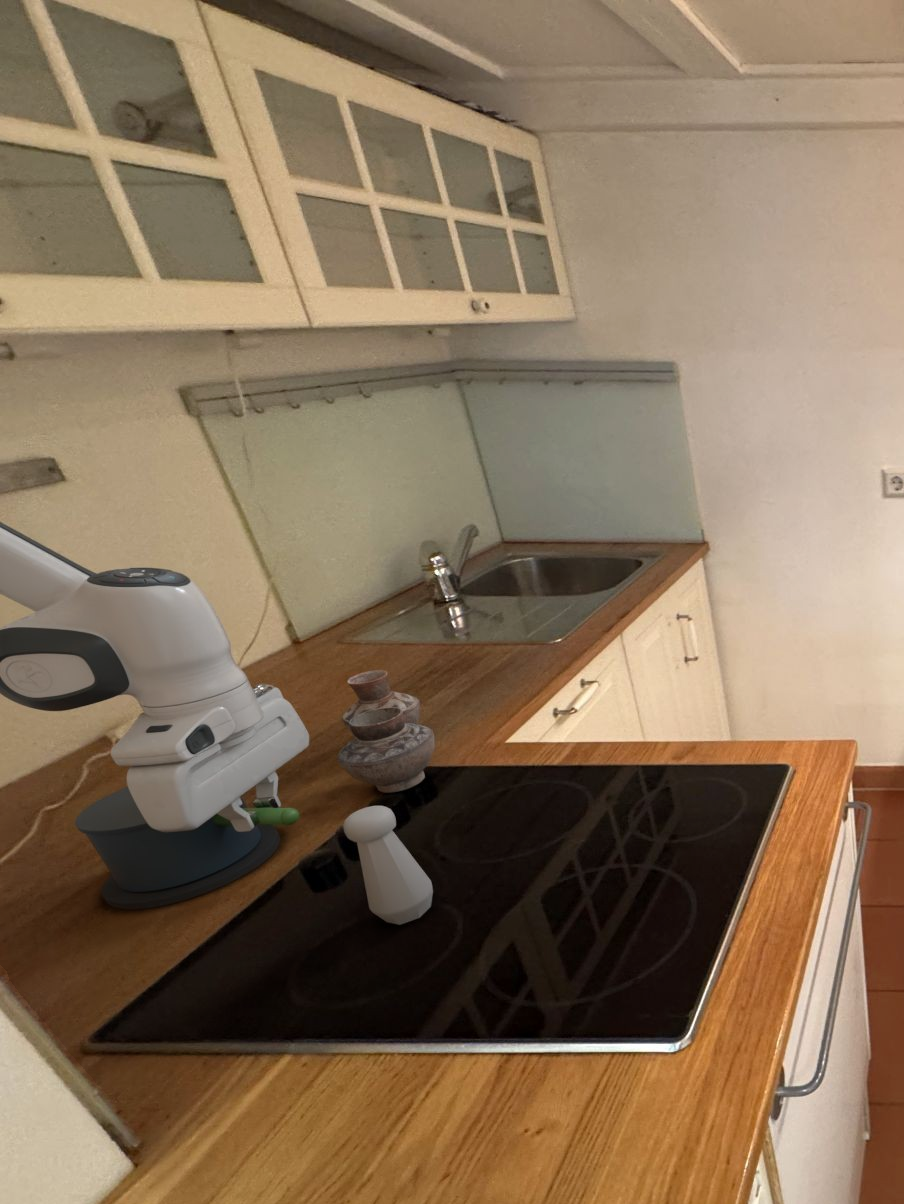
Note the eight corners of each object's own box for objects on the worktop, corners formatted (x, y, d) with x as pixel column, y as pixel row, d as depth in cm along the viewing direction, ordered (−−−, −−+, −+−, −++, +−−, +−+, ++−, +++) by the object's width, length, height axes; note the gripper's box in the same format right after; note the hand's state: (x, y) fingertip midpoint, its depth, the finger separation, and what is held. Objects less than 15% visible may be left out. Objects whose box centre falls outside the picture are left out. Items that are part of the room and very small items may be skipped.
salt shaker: (441, 915, 84) (399, 816, 78) (378, 938, 81) (330, 836, 75) (437, 888, 88) (397, 792, 82) (377, 908, 85) (331, 810, 79)
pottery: (432, 724, 127) (407, 657, 122) (452, 784, 109) (424, 709, 104) (349, 746, 121) (319, 677, 116) (356, 814, 103) (320, 735, 98)
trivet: (94, 930, 83) (89, 923, 83) (115, 862, 95) (111, 855, 94) (281, 869, 92) (277, 862, 92) (280, 813, 104) (277, 807, 103)
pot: (79, 894, 87) (30, 821, 83) (190, 825, 99) (153, 758, 95) (268, 892, 86) (228, 818, 82) (357, 823, 98) (326, 755, 94)
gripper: (243, 679, 93) (289, 777, 99) (93, 761, 75) (161, 875, 81) (299, 675, 94) (341, 772, 100) (164, 755, 76) (225, 869, 82)
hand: (260, 819), depth 90 cm, fingers closed on pot, 2 cm apart
